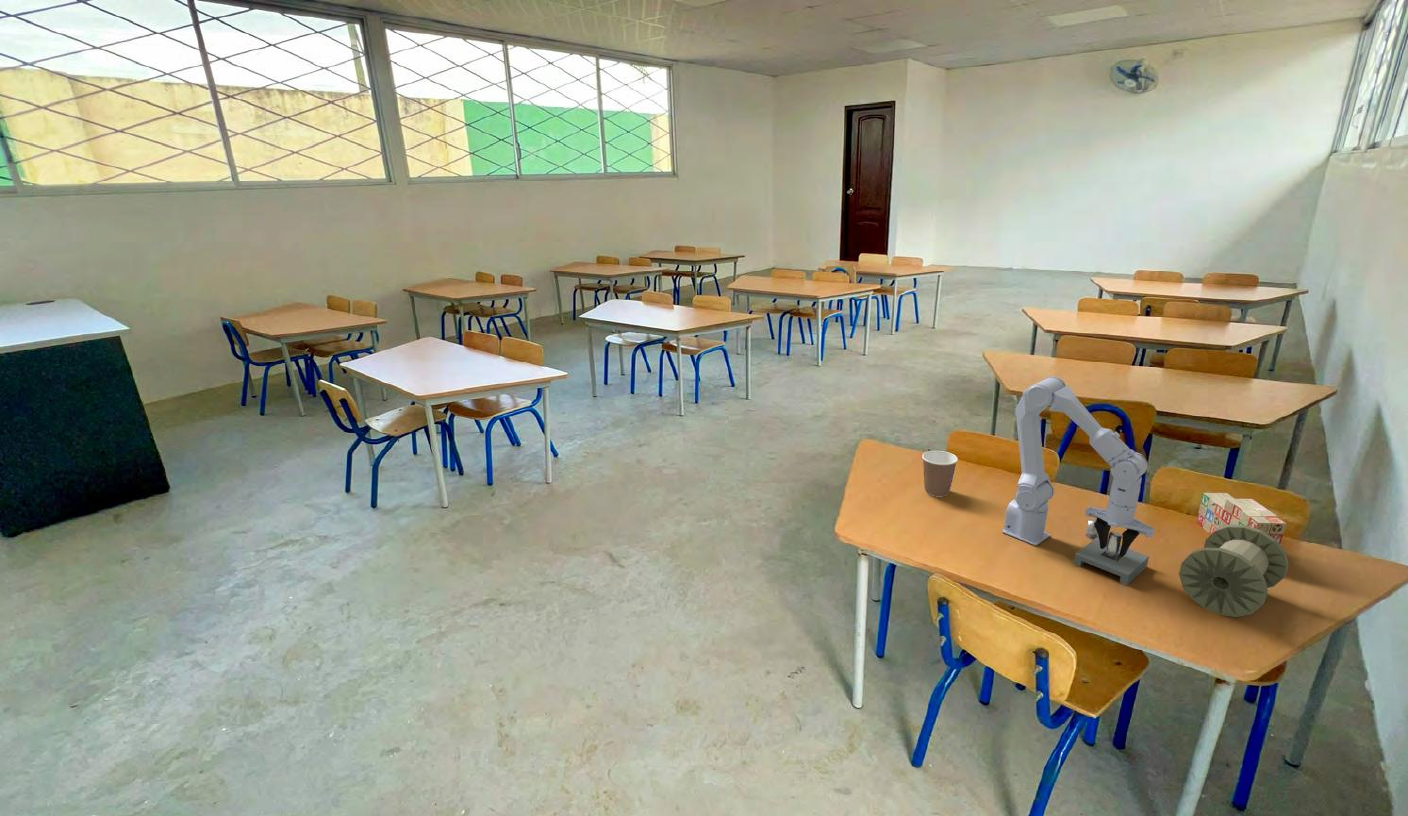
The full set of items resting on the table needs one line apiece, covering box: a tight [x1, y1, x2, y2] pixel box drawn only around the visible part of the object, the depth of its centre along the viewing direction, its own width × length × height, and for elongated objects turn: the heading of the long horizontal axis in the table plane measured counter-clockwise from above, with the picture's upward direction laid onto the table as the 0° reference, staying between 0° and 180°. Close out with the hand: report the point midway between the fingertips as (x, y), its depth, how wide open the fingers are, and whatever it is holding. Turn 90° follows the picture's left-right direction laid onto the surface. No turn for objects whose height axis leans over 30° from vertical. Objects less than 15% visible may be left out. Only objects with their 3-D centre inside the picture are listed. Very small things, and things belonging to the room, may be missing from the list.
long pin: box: [1104, 531, 1122, 561], centre depth 158 cm, size 3×3×9 cm
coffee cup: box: [921, 450, 959, 498], centre depth 198 cm, size 10×10×12 cm
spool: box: [1178, 525, 1290, 618], centre depth 144 cm, size 16×15×15 cm
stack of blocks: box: [1196, 492, 1287, 545], centre depth 165 cm, size 21×6×12 cm, turn 173°
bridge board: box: [1073, 536, 1150, 587], centre depth 159 cm, size 12×12×3 cm
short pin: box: [1085, 518, 1098, 540], centre depth 172 cm, size 3×3×4 cm
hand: (1112, 551), depth 159 cm, fingers open, 4 cm apart
